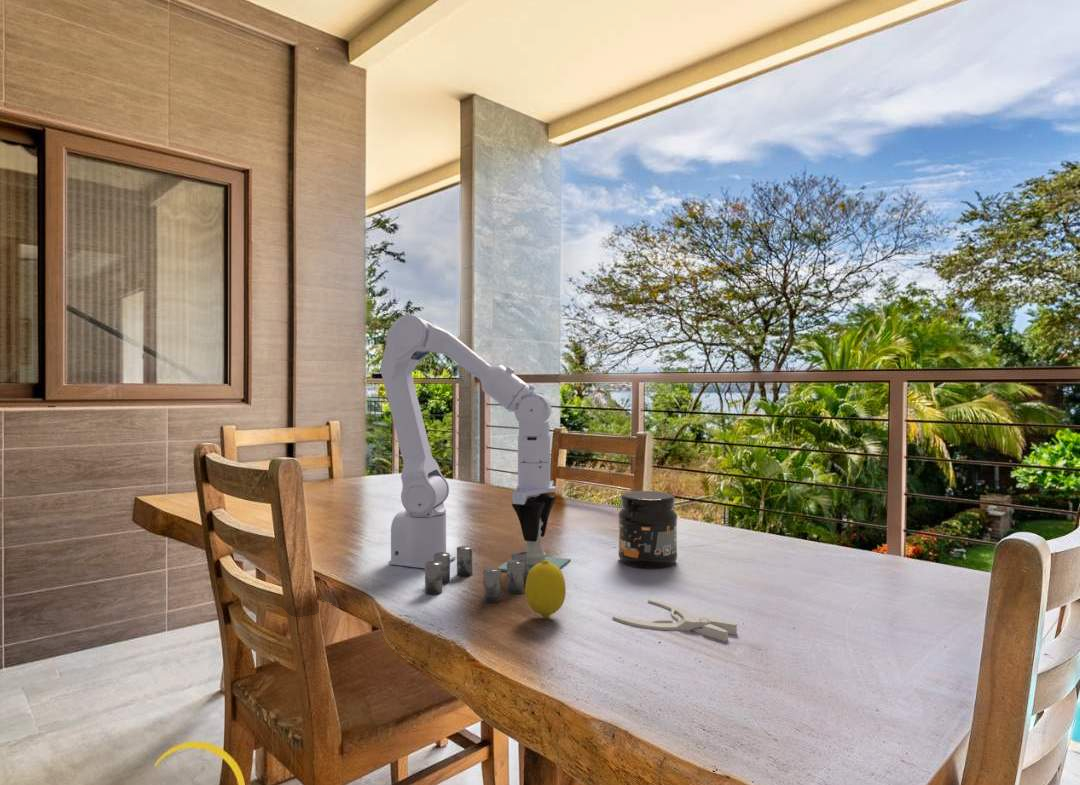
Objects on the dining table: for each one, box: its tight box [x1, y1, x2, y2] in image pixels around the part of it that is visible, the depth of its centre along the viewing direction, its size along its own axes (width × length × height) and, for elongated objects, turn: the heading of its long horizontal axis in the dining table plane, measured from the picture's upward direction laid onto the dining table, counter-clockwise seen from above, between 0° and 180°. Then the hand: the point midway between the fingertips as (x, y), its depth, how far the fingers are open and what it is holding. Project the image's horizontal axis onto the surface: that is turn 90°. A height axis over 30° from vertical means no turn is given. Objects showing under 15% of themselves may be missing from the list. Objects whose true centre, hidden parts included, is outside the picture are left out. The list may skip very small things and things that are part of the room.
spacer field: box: [424, 545, 528, 604], centre depth 102 cm, size 16×13×4 cm
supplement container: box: [617, 490, 678, 569], centre depth 116 cm, size 10×10×12 cm
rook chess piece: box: [523, 518, 547, 566], centre depth 113 cm, size 4×4×8 cm
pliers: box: [612, 598, 738, 642], centre depth 86 cm, size 10×2×15 cm
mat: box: [497, 556, 571, 575], centre depth 113 cm, size 10×10×1 cm
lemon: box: [524, 560, 567, 619], centre depth 88 cm, size 6×6×8 cm
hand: (534, 538), depth 113 cm, fingers closed on rook chess piece, 3 cm apart
